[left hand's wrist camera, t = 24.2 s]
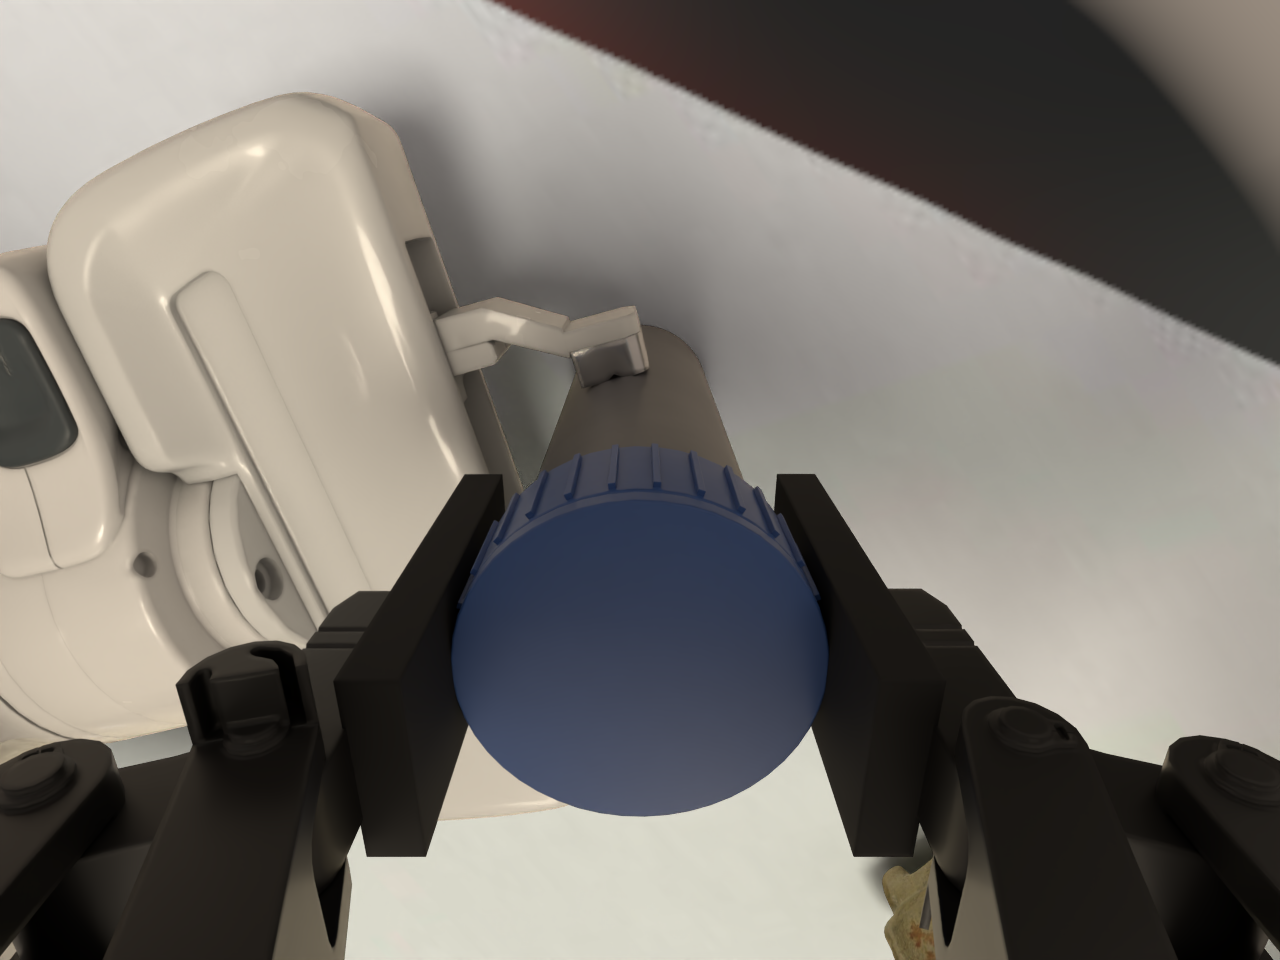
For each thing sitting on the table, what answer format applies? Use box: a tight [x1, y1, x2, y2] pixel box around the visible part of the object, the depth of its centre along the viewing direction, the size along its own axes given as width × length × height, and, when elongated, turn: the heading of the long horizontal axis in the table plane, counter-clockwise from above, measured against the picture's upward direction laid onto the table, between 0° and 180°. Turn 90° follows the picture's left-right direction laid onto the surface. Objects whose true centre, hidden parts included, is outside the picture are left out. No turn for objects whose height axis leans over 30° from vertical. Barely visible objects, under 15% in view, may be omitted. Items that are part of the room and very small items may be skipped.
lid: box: [451, 443, 829, 817], centre depth 11 cm, size 6×6×2 cm
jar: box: [537, 325, 743, 479], centre depth 18 cm, size 5×5×15 cm
